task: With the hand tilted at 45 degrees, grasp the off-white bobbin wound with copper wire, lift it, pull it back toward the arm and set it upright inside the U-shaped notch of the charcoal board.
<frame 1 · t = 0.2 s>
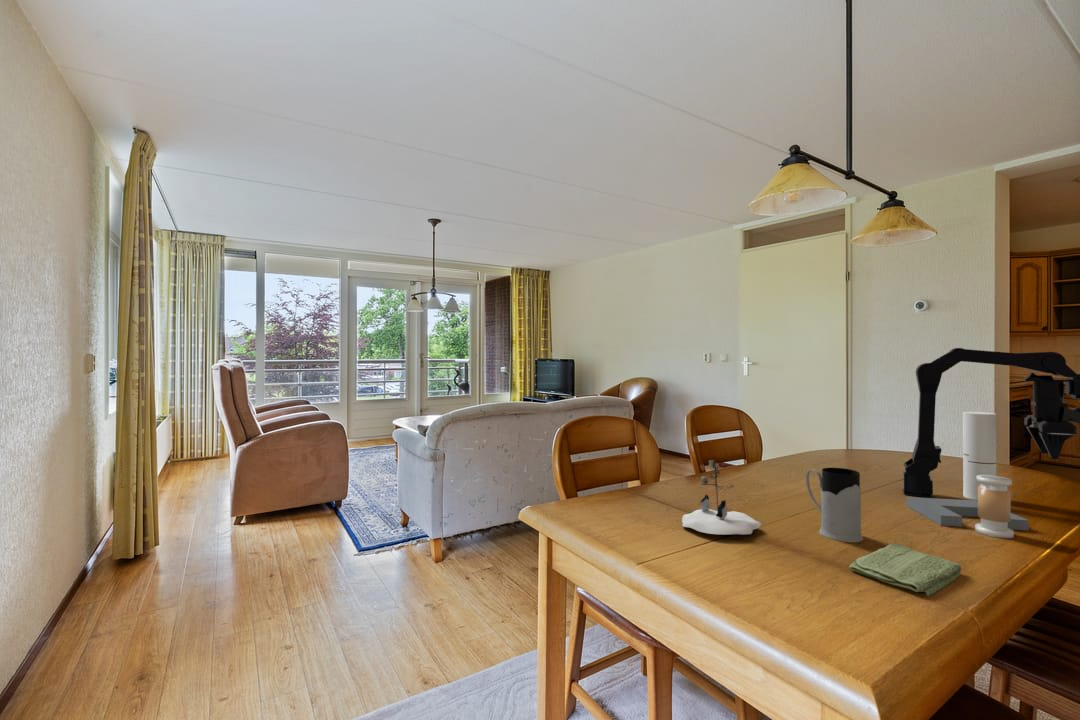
hand: (1049, 456, 129), 15 cm above the table, fingers open, 9 cm apart
glass holder: (830, 532, 115), on the table
notched board: (962, 517, 124), on the table
washcloth: (906, 576, 92), on the table
bobbin: (994, 533, 113), on the table
cylindrical container: (979, 498, 141), on the table
figurine: (719, 528, 118), on the table
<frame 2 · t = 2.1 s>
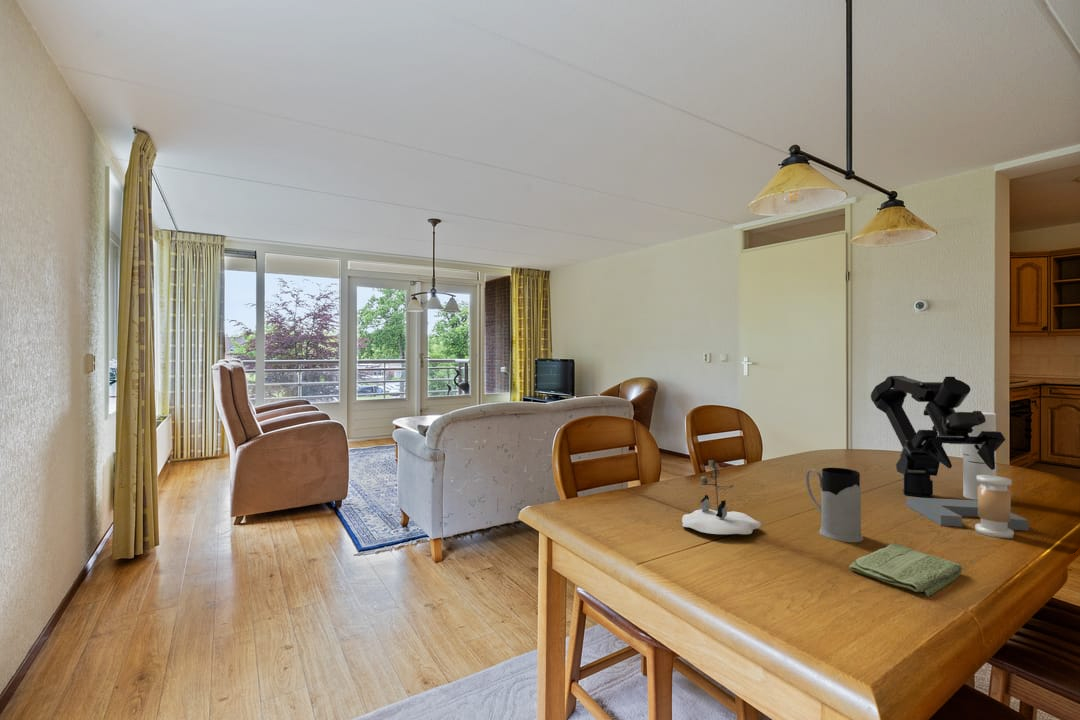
hand: (971, 468, 120), 13 cm above the table, fingers open, 9 cm apart
nothing on the table moved.
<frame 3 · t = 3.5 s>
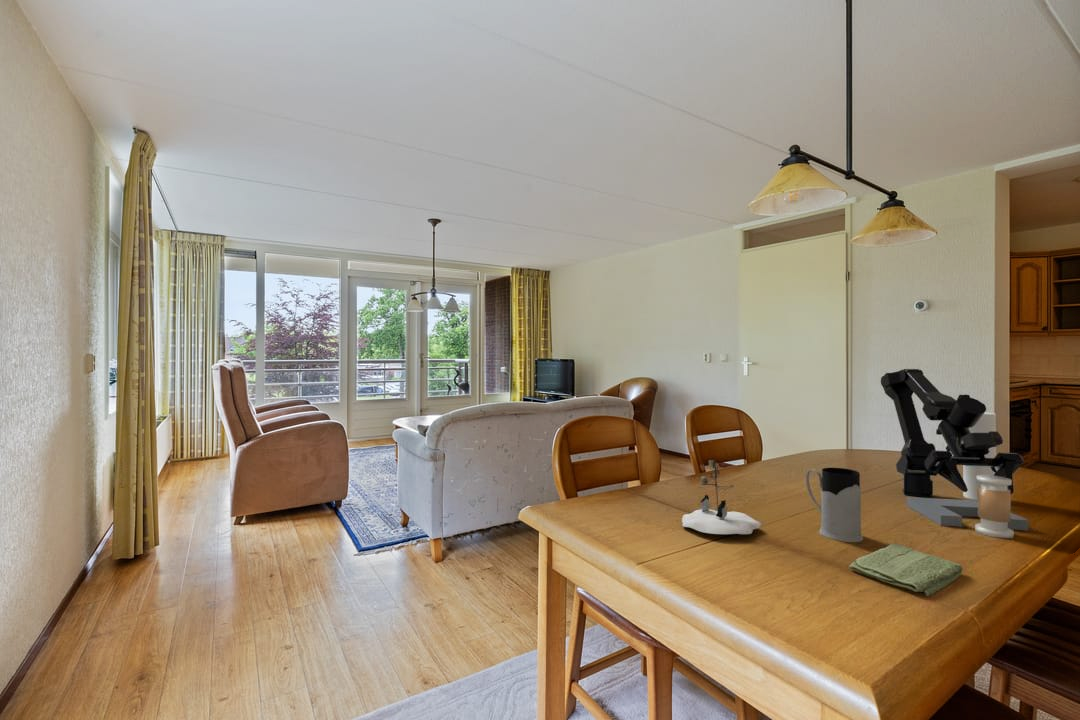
hand: (988, 492, 114), 9 cm above the table, fingers open, 9 cm apart
nothing on the table moved.
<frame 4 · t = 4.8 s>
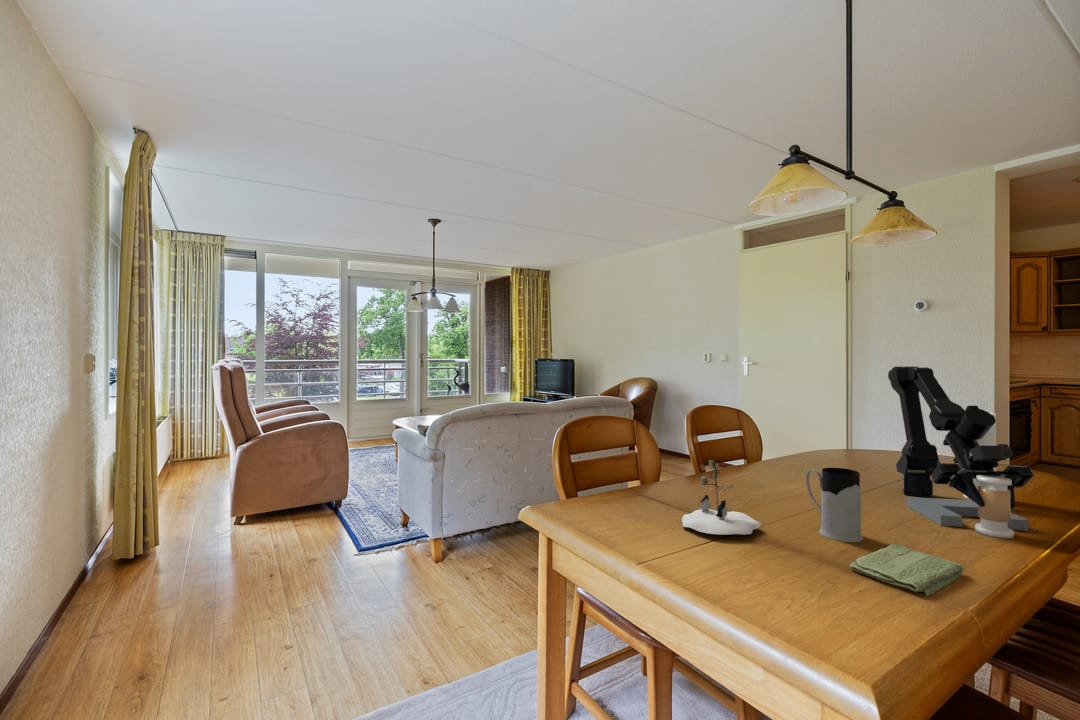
hand: (998, 506, 111), 7 cm above the table, fingers closed on bobbin, 6 cm apart
bobbin: (994, 533, 113), on the table, touching gripper
everything else where it was.
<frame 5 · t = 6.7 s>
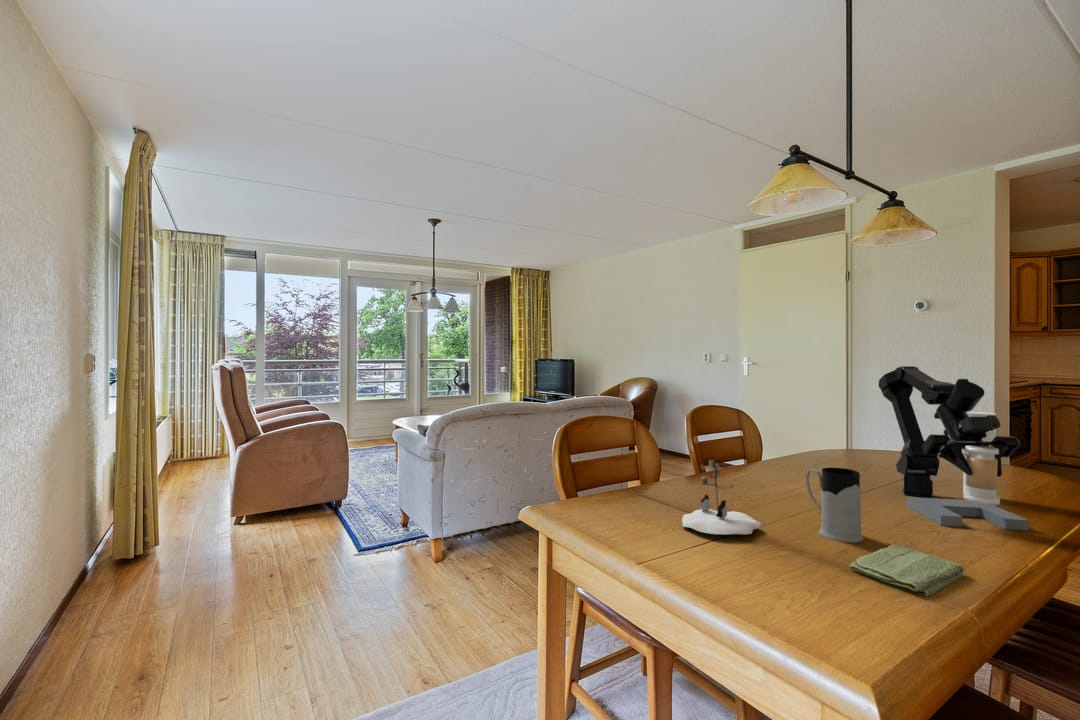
hand: (985, 475, 115), 13 cm above the table, fingers closed on bobbin, 6 cm apart
bobbin: (981, 500, 117), point 6 cm above the table, touching gripper
everything else where it was.
when the fingers open (8 cm above the table, at t = 8.8 s): bobbin drops 1 cm, on the table.
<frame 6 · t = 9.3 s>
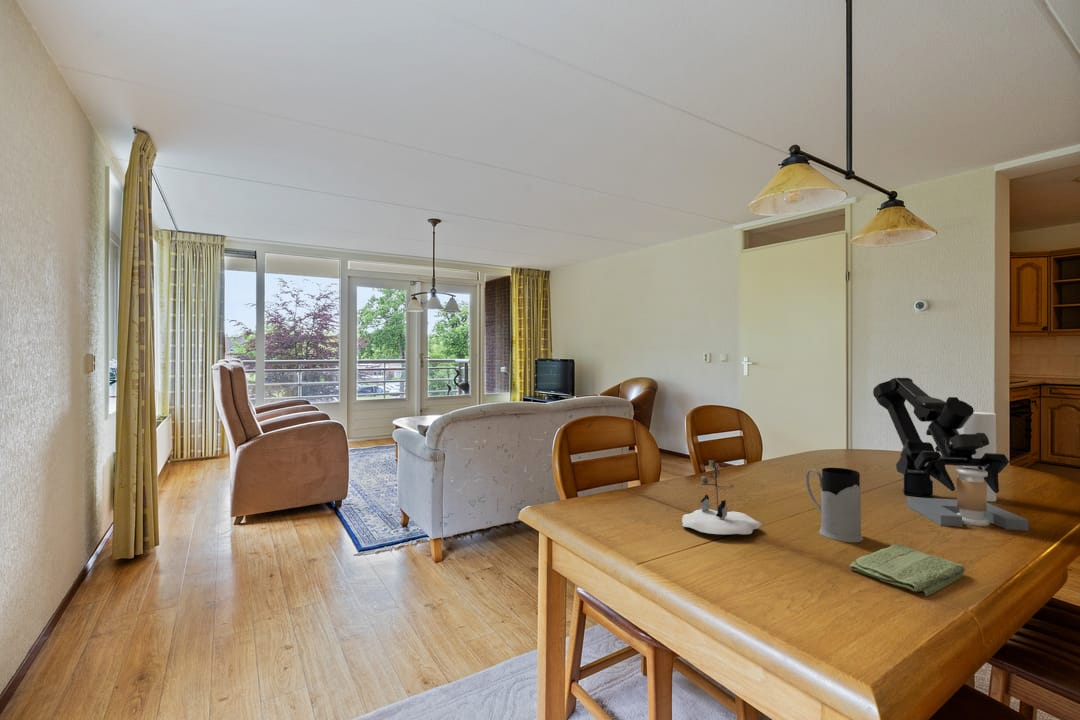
hand: (975, 491, 119), 8 cm above the table, fingers open, 9 cm apart
bobbin: (971, 521, 121), on the table
everything else where it was.
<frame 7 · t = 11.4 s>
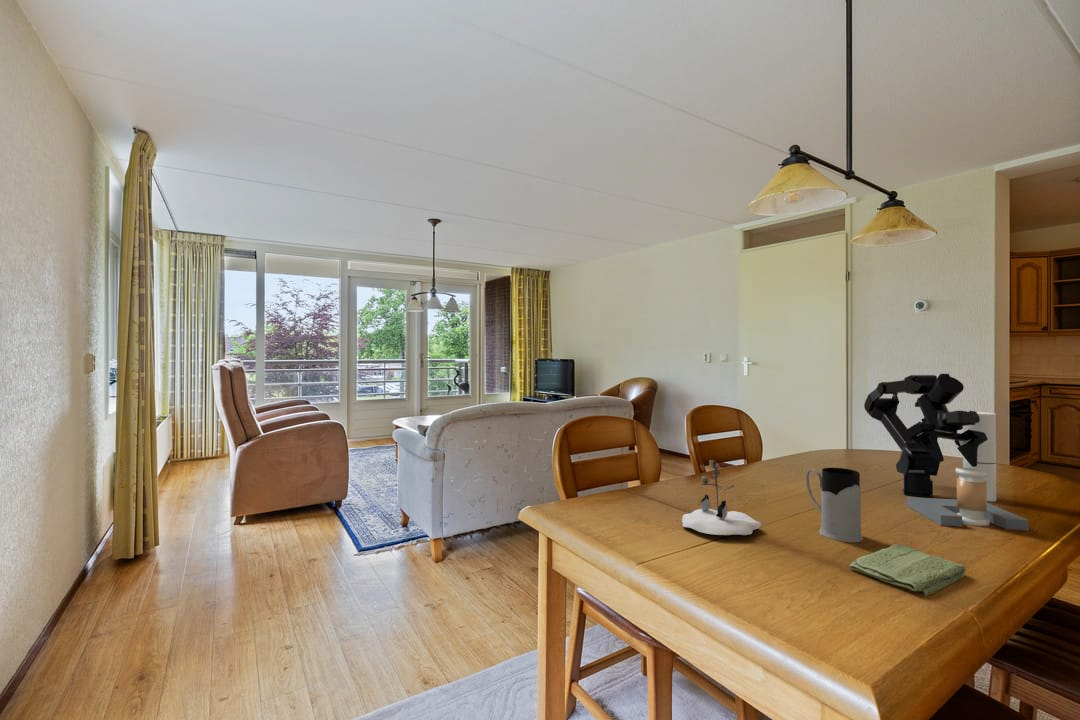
hand: (958, 463, 127), 13 cm above the table, fingers open, 9 cm apart
nothing on the table moved.
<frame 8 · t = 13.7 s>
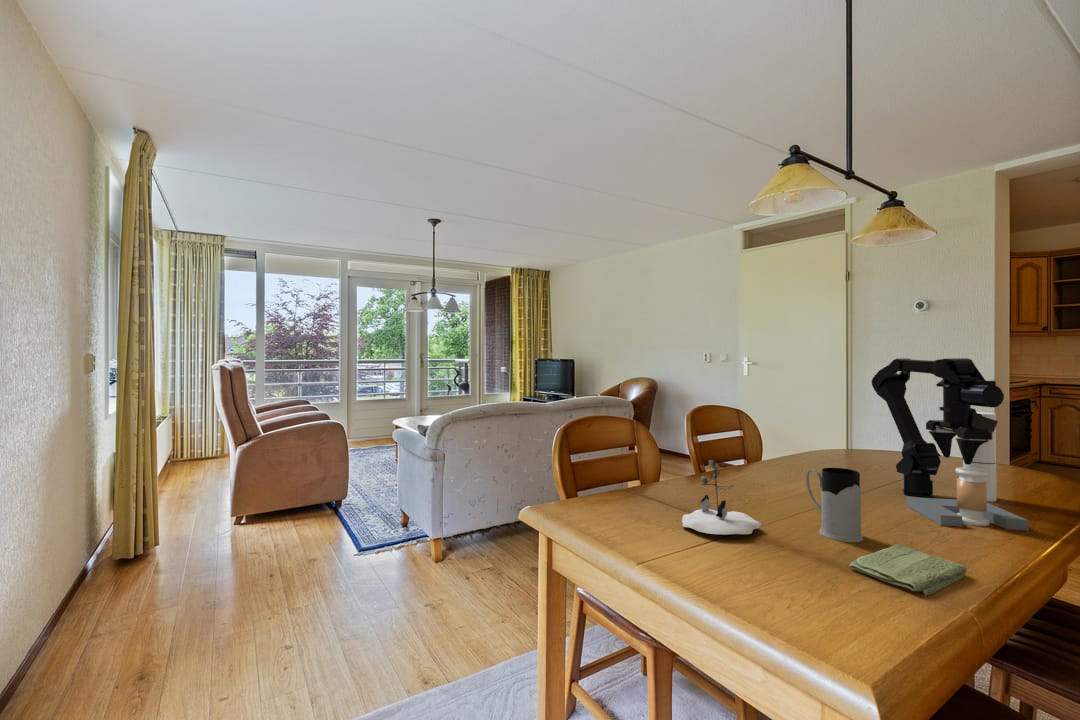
hand: (957, 460, 131), 13 cm above the table, fingers open, 9 cm apart
nothing on the table moved.
at the end: bobbin 0.1 cm from the target spot on the notched board, point 0.0 cm above the notched board's base; bobbin tilted 0°; the gripper is holding nothing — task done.
